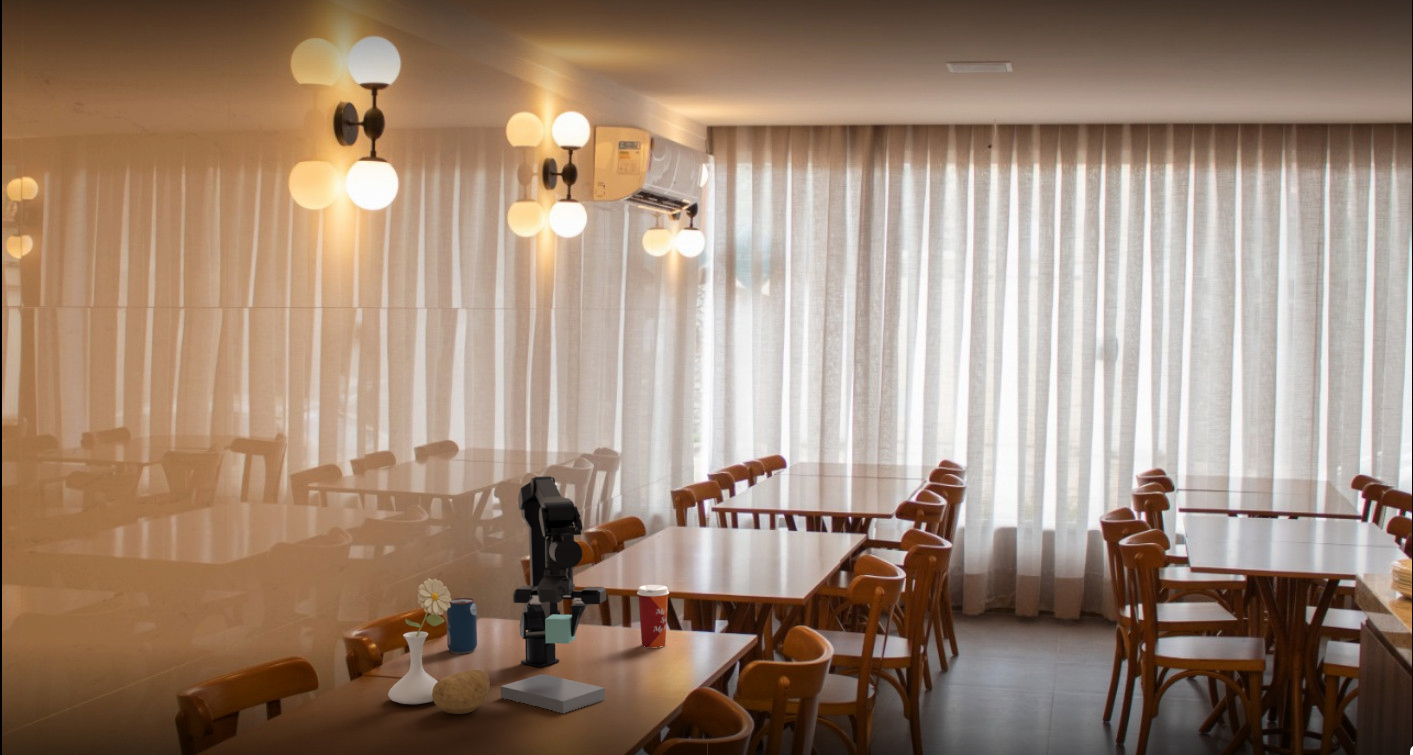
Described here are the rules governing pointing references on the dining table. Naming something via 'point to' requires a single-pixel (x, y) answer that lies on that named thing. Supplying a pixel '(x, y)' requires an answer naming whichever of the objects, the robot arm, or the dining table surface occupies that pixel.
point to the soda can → (462, 626)
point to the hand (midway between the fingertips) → (560, 636)
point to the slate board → (553, 693)
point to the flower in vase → (421, 646)
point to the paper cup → (653, 614)
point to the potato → (461, 691)
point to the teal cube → (558, 629)
